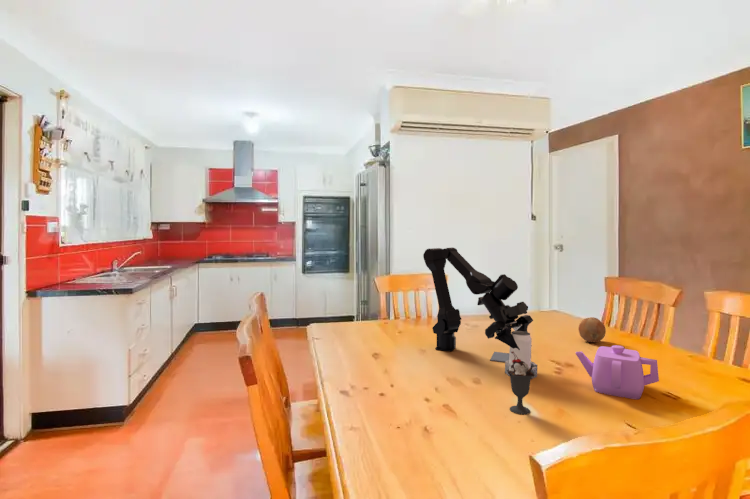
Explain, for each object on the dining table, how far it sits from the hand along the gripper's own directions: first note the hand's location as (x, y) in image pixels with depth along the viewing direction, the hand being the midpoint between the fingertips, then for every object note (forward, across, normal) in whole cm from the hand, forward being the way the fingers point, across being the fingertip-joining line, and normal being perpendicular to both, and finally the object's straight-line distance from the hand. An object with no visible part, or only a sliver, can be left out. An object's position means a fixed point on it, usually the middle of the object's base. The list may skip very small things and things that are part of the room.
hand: (524, 348), depth 130 cm
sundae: (+16, -23, -4) cm, 29 cm away
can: (+4, -1, +6) cm, 7 cm away
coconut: (+2, +54, +10) cm, 55 cm away
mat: (-3, +9, +15) cm, 18 cm away
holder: (+5, 0, +7) cm, 8 cm away
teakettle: (+21, +12, -10) cm, 26 cm away
